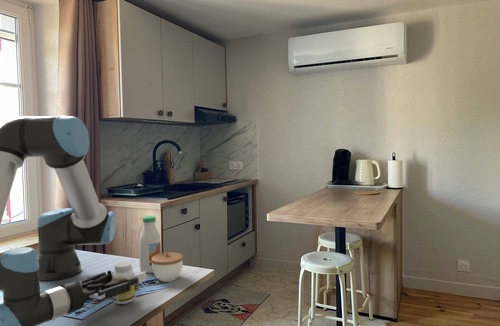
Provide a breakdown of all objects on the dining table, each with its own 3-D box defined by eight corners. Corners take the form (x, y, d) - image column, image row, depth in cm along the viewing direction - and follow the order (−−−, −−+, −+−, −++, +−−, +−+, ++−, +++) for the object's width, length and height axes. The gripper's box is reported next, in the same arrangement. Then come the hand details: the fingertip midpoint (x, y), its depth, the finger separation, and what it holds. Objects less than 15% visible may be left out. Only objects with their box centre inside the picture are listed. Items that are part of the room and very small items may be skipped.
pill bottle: (138, 296, 114) (138, 261, 114) (127, 305, 108) (126, 268, 108) (120, 294, 116) (119, 259, 115) (108, 303, 110) (107, 266, 109)
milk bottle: (141, 274, 134) (139, 220, 133) (138, 268, 141) (136, 216, 140) (163, 271, 137) (161, 217, 136) (159, 265, 144) (157, 214, 143)
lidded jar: (176, 285, 124) (175, 257, 124) (146, 283, 126) (145, 256, 126) (187, 274, 135) (187, 248, 134) (160, 272, 137) (159, 247, 136)
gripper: (47, 304, 104) (120, 278, 122) (83, 324, 92) (158, 292, 110) (45, 277, 103) (119, 256, 121) (82, 295, 91) (157, 267, 110)
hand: (138, 273), depth 116 cm, fingers closed on pill bottle, 6 cm apart
